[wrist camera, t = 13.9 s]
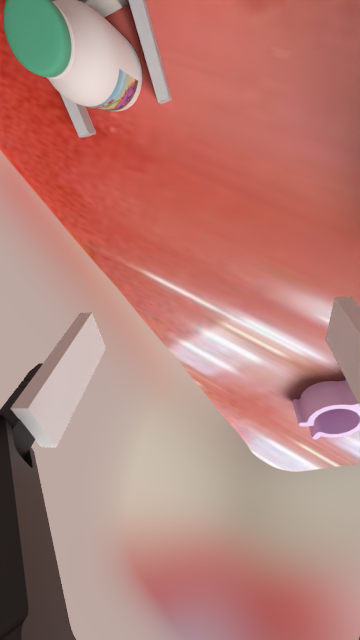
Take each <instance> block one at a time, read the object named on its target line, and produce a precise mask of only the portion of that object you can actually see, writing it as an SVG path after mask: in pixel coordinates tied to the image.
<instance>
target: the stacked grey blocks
mask: <svg viewBox="0 0 360 640" xmlns="http://www.w3.org/2000/svg"><path fill="white" fill-rule="evenodd" d="M5 1H7V0H5ZM51 1H52V2H53V1H55V0H51ZM78 1H81V2H83V3H85V4H87V5H89V6H90V7H92V8H93V9H94V10H95V11H97V12H98V13H99V14H100V15H102V16H103V17H104V18H105V17H107V16H108V15H110V14H112V13H114V12H115V11H117V10H119V9H121V8H123V7H124V6H126V5H128V4H130V7H131V11H132V14H133V17H134V21H135V24H136V28H137V31H138V35H139V38H140V42H141V45H142V49H143V52H144V56H145V59H146V62H147V66H148V69H149V73H150V76H151V80H152V83H153V87H154V90H155V94H156V97H157V101H158V103H160V104H164V103H166V102H168V101H171V100H172V98H171V94H170V90H169V86H168V83H167V79H166V75H165V71H164V67H163V64H162V60H161V56H160V52H159V49H158V45H157V41H156V37H155V34H154V30H153V26H152V22H151V18H150V15H149V11H148V7H147V3H146V0H78ZM60 95H61V97H62V99H63V101H64V104H65V106H66V108H67V110H68V113H69V115H70V117H71V120H72V122H73V124H74V126H75V129H76V131H77V133H78V135H79V137H88V136H91V135H93V134H95V133H96V131H95V129H94V126H93V124H92V121H91V119H90V117H89V114H88V112H87V109H86V107H85V106H82V105H79V104H76V103H74V102H72V101H71V100H69V99H67V98H66V97H64V96H63V95H62V94H61V93H60Z"/></svg>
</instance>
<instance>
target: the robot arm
mask: <svg viewBox="0 0 360 640" xmlns="http://www.w3.org/2000/svg"><path fill="white" fill-rule="evenodd" d="M326 341H327V343H328V345H329V347H330V349H331V351H332V353H333V355H334V357H335V359H336V361H337V363H338V365H339V367H340V369H341V370H342V372H343V374H344V376H345V378H346V380H347V382H348V384H349V386H350V388H351V390H352V392H353V394H354V396H355V397H356V399H357V401H358V403H359V405H360V307H359V305H358V304H357V303H356V302H355V300H354V299H353V298H352V297H336V298H335V299H334V304H333V308H332V313H331V318H330V322H329V327H328V332H327V336H326ZM105 349H106V347H105V345H104V342H103V339H102V337H101V334H100V332H99V330H98V327H97V324H96V322H95V319H94V316H93V314H92V313H80V314H79V315H78V317H77V318H76V319H75V321H74V322H73V324H72V325H71V326H70V328H69V329H68V330H67V332H66V333H65V334H64V336H63V337H62V339H61V340H60V341H59V343H58V344H57V346H56V347H55V348H54V350H53V351H52V352H51V354H50V355H49V356H48V358H47V359H46V361H45V362H44V363H43V364H38V365H37V366H36V367H35V368H33V369H32V370H31V371H30V372H29V373H28V374H27V375H26V377H25V378H24V381H22V382H21V384H20V385H19V386H18V388H17V389H16V390H15V391H14V393H13V394H12V395H11V396H10V398H9V399H8V401H7V402H6V403H5V404H4V406H3V407H2V408H1V410H0V640H76V639H75V637H74V635H73V633H72V630H71V627H70V623H69V618H68V613H67V609H66V604H65V599H64V594H63V590H62V584H61V580H60V576H59V570H58V565H57V560H56V556H55V551H54V546H53V542H52V537H51V532H50V527H49V522H48V518H47V512H46V507H45V503H44V498H43V493H42V488H41V484H40V479H39V474H38V469H37V465H36V460H35V455H34V451H33V449H32V448H31V446H32V444H33V442H34V441H35V440H36V441H37V442H38V444H39V445H40V447H54V448H56V447H57V445H58V443H59V441H60V439H61V437H62V435H63V433H64V431H65V429H66V427H67V425H68V423H69V421H70V419H71V417H72V415H73V413H74V411H75V409H76V407H77V405H78V403H79V401H80V399H81V397H82V395H83V393H84V391H85V389H86V387H87V385H88V383H89V381H90V379H91V377H92V375H93V373H94V371H95V369H96V367H97V365H98V363H99V361H100V359H101V357H102V355H103V353H104V351H105ZM359 640H360V638H359Z"/></svg>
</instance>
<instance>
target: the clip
mask: <svg viewBox="0 0 360 640" xmlns="http://www.w3.org/2000/svg"><path fill="white" fill-rule="evenodd" d="M292 402H293V405H294V409H295V413H296V416H297V420H298V423H299V426H309V428H310V432H311V435H312V438H313V439H318V438H319V437H321V436H323V437H343V436H347V435H350V434H353V433H355V432H357V431H359V430H360V405H359V403H358V401H357V399H356V397H355V396H354V394H353V392H352V390H351V388H350V386H349V384H348V382H347V380H343V381H324V382H320V383H316V384H314V385H312V386H310V387H308V388H307V389H306V390H305V391H304V392H303V393H302V395H301V397H300V399H293V401H292Z"/></svg>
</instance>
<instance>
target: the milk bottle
mask: <svg viewBox="0 0 360 640" xmlns="http://www.w3.org/2000/svg"><path fill="white" fill-rule="evenodd" d="M3 23H4V30H5V35H6V38H7V41H8V44H9V46H10V48H11V50H12V52H13V54H14V55H15V57H16V58H17V59H18V61H19V62H20V63H21V64H22V65H23V66H24V67H25V68H26V69H28V70H29V71H31V72H32V73H34V74H37V75H39V76H42V77H46V78H48V80H49V81H50V82H51V84H52V85H53V86H54V87H55V88H56V89H57V91H58V92H60V93H61V94H62V95H63V96H64V97H66V98H67V99H69V100H71V101H72V102H74V103H76V104H79V105H82V106H86V107H90V108H96V109H102V110H108V111H123V110H126V109H128V108H129V107H131V106H132V105H133V104H134V102H135V101H136V100H137V98H138V96H139V93H140V90H141V86H142V69H141V64H140V60H139V58H138V55H137V53H136V51H135V49H134V48H133V46H132V45H131V44H130V43H129V41H128V40H127V39H126V38H125V37H124V36H123V35H122V34H121V33H120V32H119V31H118V30H117V29H116V28H115V27H113V26H112V25H111V24H110V23H109V22H108V21H107V20H106V19H105V18H104V17H103V16H102V15H100V14H99V13H98V12H97V11H95V10H94V9H93V8H92V7H90V6H89V5H87V4H85V3H83V2H81V1H78V0H55V1H53V2H52V1H51V0H7V1H6V4H5V7H4V13H3Z"/></svg>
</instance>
